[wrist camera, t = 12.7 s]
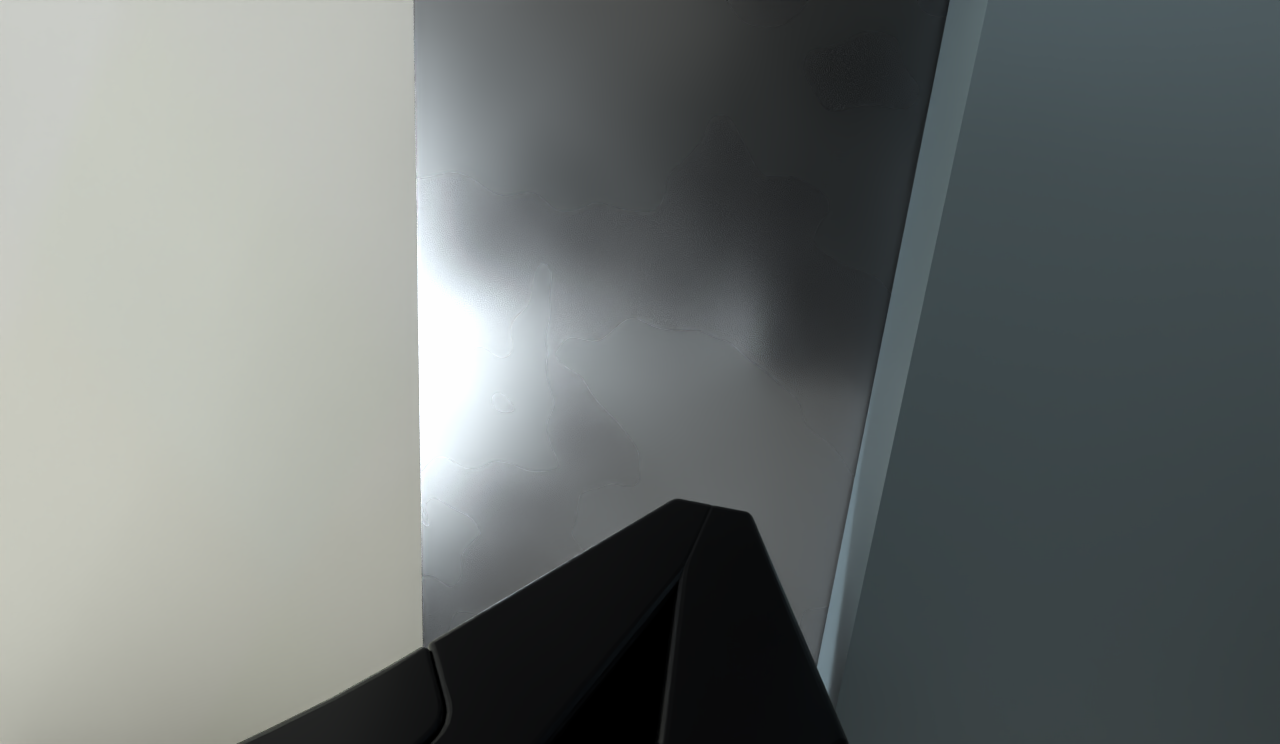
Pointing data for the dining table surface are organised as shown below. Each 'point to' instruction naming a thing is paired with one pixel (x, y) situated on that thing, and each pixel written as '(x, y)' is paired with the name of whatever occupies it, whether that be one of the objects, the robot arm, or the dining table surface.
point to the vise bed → (653, 272)
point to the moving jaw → (1077, 392)
